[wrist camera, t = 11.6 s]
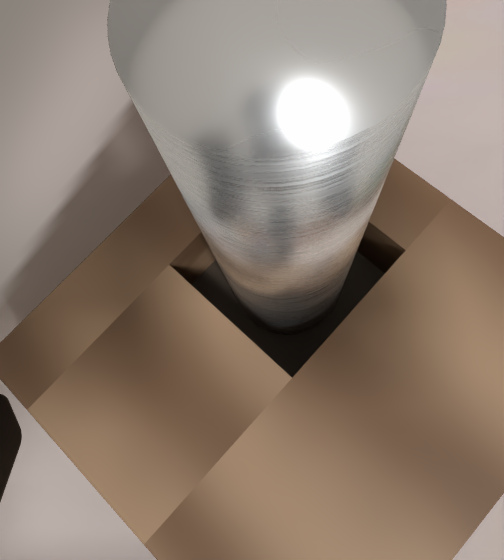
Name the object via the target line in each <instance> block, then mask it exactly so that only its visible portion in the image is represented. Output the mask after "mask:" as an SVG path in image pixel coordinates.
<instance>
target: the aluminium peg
mask: <svg viewBox="0 0 504 560" xmlns="http://www.w3.org/2000/svg"><path fill="white" fill-rule="evenodd" d="M445 18H446V0H110V5H109V13H108V41H109V46H110V52H111V56H112V59H113V62H114V65H115V67H116V70H117V73H118V75H119V76H120V78H121V80H122V82H123V84H124V86H125V88H126V90H127V92H128V94H129V95H130V97H131V99H132V101H133V103H134V105H135V107H136V109H137V111H138V113H139V114H140V116H141V118H142V120H143V122H144V124H145V126H146V128H147V130H148V132H149V133H150V135H151V137H152V139H153V141H154V143H155V145H156V147H157V149H158V150H159V152H160V154H161V156H162V158H163V160H164V162H165V164H166V166H167V168H168V169H169V171H170V173H171V175H172V177H173V179H174V181H175V183H176V185H177V187H178V188H179V190H180V192H181V194H182V196H183V198H184V200H185V202H186V204H187V205H188V207H189V209H190V211H191V213H192V215H193V217H194V219H195V221H196V223H197V224H198V226H199V228H200V230H201V232H202V234H203V236H204V238H205V240H206V242H207V243H208V245H209V247H210V249H211V251H212V253H213V255H214V257H215V259H216V260H217V262H218V264H219V266H220V268H221V270H222V272H223V274H224V276H225V278H226V279H227V281H228V283H229V285H230V287H231V289H232V291H233V293H234V295H235V297H236V298H237V300H238V302H239V304H240V306H241V308H242V310H243V311H244V313H245V314H246V315H247V317H248V318H249V319H250V320H251V321H252V322H254V323H255V324H256V325H258V326H259V327H261V328H263V329H265V330H267V331H270V332H273V333H277V334H289V335H290V334H298V333H302V332H305V331H308V330H310V329H312V328H314V327H316V326H317V325H319V324H320V323H321V322H323V321H324V320H325V319H326V318H327V317H328V315H329V314H330V313H331V311H332V310H333V308H334V306H335V304H336V302H337V299H338V297H339V294H340V292H341V289H342V287H343V284H344V282H345V279H346V277H347V274H348V272H349V269H350V267H351V264H352V262H353V259H354V257H355V254H356V252H357V249H358V247H359V244H360V242H361V239H362V237H363V234H364V232H365V229H366V227H367V224H368V222H369V219H370V217H371V215H372V212H373V210H374V207H375V205H376V202H377V200H378V197H379V195H380V192H381V190H382V187H383V185H384V182H385V180H386V177H387V175H388V172H389V170H390V167H391V165H392V162H393V160H394V157H395V155H396V152H397V150H398V147H399V145H400V142H401V140H402V137H403V135H404V132H405V130H406V127H407V125H408V122H409V120H410V117H411V115H412V112H413V110H414V107H415V105H416V102H417V100H418V97H419V95H420V92H421V90H422V87H423V85H424V83H425V80H426V78H427V75H428V73H429V70H430V68H431V65H432V63H433V60H434V58H435V55H436V53H437V50H438V48H439V45H440V43H441V38H442V34H443V30H444V26H445Z"/></svg>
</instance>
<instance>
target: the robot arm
mask: <svg viewBox="0 0 504 560" xmlns="http://www.w3.org/2000/svg"><path fill="white" fill-rule="evenodd" d="M21 437H22V434H21V429H20V426H19V424H18V421H17V419H16V417H15V414H14V412H13V410H12V407H11V405H10V403H9V400H8V399H7V397H5V396H4V395H2V394H0V501H1V499H2V496H3V493H4V490H5V487H6V484H7V482H8V479H9V476H10V473H11V470H12V467H13V464H14V462H15V459H16V456H17V453H18V450H19V447H20V444H21Z"/></svg>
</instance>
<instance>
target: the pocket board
mask: <svg viewBox="0 0 504 560" xmlns="http://www.w3.org/2000/svg"><path fill="white" fill-rule="evenodd" d="M0 379H1V381H2V382H3V383H4V384H5V385H6V386H7V387H8V389H9V390H10V391H11V392H12V393H13V394H14V396H15V397H16V398H17V399H18V400H19V401H20V402H21V404H22V405H23V406H24V407H25V408H26V409H27V410H28V412H29V413H30V414H31V415H32V416H33V417H34V419H35V420H36V421H37V422H38V423H39V424H40V425H41V427H42V428H43V429H44V430H45V431H46V432H47V434H48V435H49V436H50V437H51V438H52V439H53V440H54V442H55V443H56V444H57V445H58V446H59V447H60V449H61V450H62V451H63V452H64V453H65V454H66V455H67V457H68V458H69V459H70V460H71V461H72V462H73V464H74V465H75V466H76V467H77V468H78V469H79V470H80V472H81V473H82V474H83V475H84V476H85V477H86V478H87V480H88V481H89V482H90V483H91V484H92V485H93V487H94V488H95V489H96V490H97V491H98V492H99V493H100V495H101V496H102V497H103V498H104V499H105V500H106V502H107V503H108V504H109V505H110V506H111V507H112V508H113V510H114V511H115V512H116V513H117V514H118V515H119V517H120V518H121V519H122V520H123V521H124V522H125V523H126V525H127V526H128V527H129V528H130V529H131V530H132V531H133V533H134V534H135V535H136V536H137V537H138V538H139V540H140V541H141V542H142V543H143V544H144V545H145V546H146V548H147V549H148V550H149V551H150V552H151V553H152V555H153V556H154V557H155V558H156V559H157V560H452V559H453V558H454V557H455V555H456V554H457V553H458V551H459V550H460V549H461V548H462V546H463V545H464V544H465V542H466V541H467V540H468V539H469V537H470V536H471V535H472V533H473V532H474V531H475V530H476V528H477V527H478V526H479V524H480V523H481V522H482V520H483V519H484V518H485V517H486V515H487V514H488V513H489V511H490V510H491V509H492V508H493V506H494V505H495V504H496V502H497V501H498V500H499V499H500V497H501V496H502V495H503V493H504V237H503V236H501V235H500V234H498V233H497V232H496V231H494V230H493V229H491V228H490V227H489V226H487V225H486V224H485V223H483V222H482V221H480V220H479V219H478V218H476V217H475V216H473V215H472V214H471V213H469V212H468V211H466V210H465V209H464V208H462V207H461V206H460V205H458V204H457V203H455V202H454V201H453V200H451V199H450V198H448V197H447V196H446V195H444V194H443V193H441V192H440V191H439V190H437V189H436V188H435V187H433V186H432V185H430V184H429V183H428V182H426V181H425V180H423V179H422V178H421V177H419V176H418V175H416V174H415V173H414V172H412V171H411V170H410V169H408V168H407V167H405V166H404V165H403V164H401V163H400V162H398V161H397V160H396V159H394V160H393V162H392V165H391V167H390V170H389V172H388V175H387V177H386V180H385V182H384V185H383V187H382V190H381V192H380V195H379V197H378V200H377V202H376V205H375V207H374V210H373V212H372V215H371V217H370V219H369V222H368V224H367V227H366V229H365V232H364V234H363V237H362V239H361V242H360V244H359V247H358V249H357V252H356V254H355V257H354V259H353V262H352V264H351V267H350V269H349V272H348V274H347V277H346V279H345V282H344V284H343V287H342V289H341V292H340V294H339V297H338V299H337V302H336V304H335V306H334V308H333V310H332V311H331V313H330V314H329V315H328V317H327V318H326V319H325V320H324V321H323V322H321V323H320V324H319V325H317V326H316V327H314V328H312V329H310V330H308V331H305V332H302V333H298V334H290V335H289V334H277V333H273V332H270V331H267V330H265V329H263V328H261V327H259V326H258V325H256V324H255V323H254V322H252V321H251V320H250V319H249V318H248V317H247V315H246V314H245V313H244V311H243V310H242V308H241V306H240V304H239V302H238V300H237V298H236V297H235V295H234V293H233V291H232V289H231V287H230V285H229V283H228V281H227V279H226V278H225V276H224V274H223V272H222V270H221V268H220V266H219V264H218V262H217V260H216V259H215V257H214V255H213V253H212V251H211V249H210V247H209V245H208V243H207V242H206V240H205V238H204V236H203V234H202V232H201V230H200V228H199V226H198V224H197V223H196V221H195V219H194V217H193V215H192V213H191V211H190V209H189V207H188V205H187V204H186V202H185V200H184V198H183V196H182V194H181V192H180V190H179V188H178V187H177V185H176V183H175V181H174V179H173V177H172V175H170V176H169V177H168V178H167V179H166V180H165V181H164V182H163V183H162V184H161V185H160V186H159V187H158V188H157V189H156V190H155V191H154V192H153V193H152V194H151V195H150V196H149V197H148V198H147V199H146V200H145V201H144V202H143V203H142V204H141V205H140V206H139V207H138V208H137V209H136V210H135V211H134V212H133V213H132V214H130V215H129V216H128V217H127V218H126V219H125V220H124V221H123V222H122V223H121V224H120V225H119V226H118V227H117V228H116V229H115V230H114V231H113V232H112V233H111V234H110V235H109V236H108V237H107V238H106V239H105V240H104V241H103V242H102V243H101V244H100V245H99V246H98V247H97V248H96V249H95V250H94V251H93V252H92V253H91V254H90V255H89V256H88V257H87V258H86V259H85V260H84V261H83V262H82V263H81V264H80V265H79V266H78V267H77V268H76V269H75V270H74V271H73V272H72V273H71V274H70V275H69V276H68V277H67V278H66V279H65V280H64V281H63V282H62V283H60V284H59V285H58V286H57V287H56V288H55V289H54V290H53V291H52V292H51V293H50V294H49V295H48V296H47V297H46V298H45V299H44V300H43V301H42V302H41V303H40V304H39V305H38V306H37V307H36V308H35V309H34V310H33V311H32V312H31V313H30V314H29V315H28V316H27V317H26V318H25V319H24V320H23V321H22V322H21V323H20V324H19V325H18V326H17V327H16V328H15V329H14V330H13V331H12V332H11V333H10V334H9V335H8V336H7V337H6V338H5V339H4V340H3V341H2V342H1V343H0Z"/></svg>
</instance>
